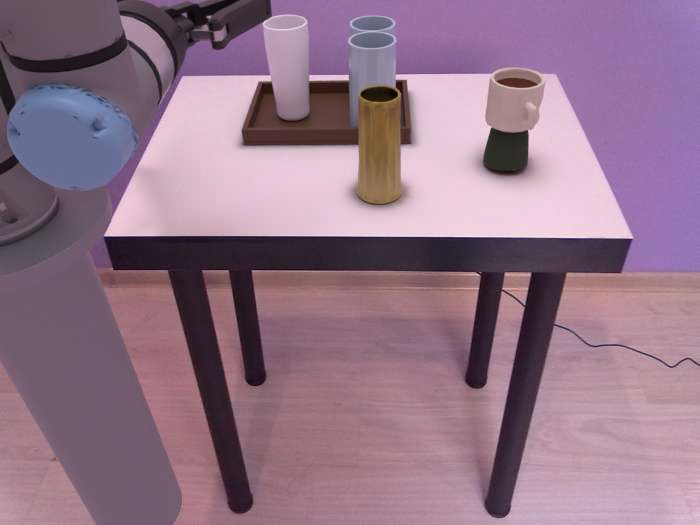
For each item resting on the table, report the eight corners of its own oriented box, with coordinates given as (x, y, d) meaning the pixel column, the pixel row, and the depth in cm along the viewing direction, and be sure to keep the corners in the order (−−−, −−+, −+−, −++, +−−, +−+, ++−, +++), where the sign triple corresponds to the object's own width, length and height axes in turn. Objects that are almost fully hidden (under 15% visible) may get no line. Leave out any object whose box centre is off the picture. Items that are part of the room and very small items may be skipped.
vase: (384, 210, 81) (385, 109, 72) (347, 195, 84) (344, 96, 75) (410, 189, 85) (414, 90, 76) (373, 175, 88) (373, 78, 79)
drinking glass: (306, 102, 105) (299, 11, 95) (320, 119, 100) (314, 25, 90) (267, 110, 103) (256, 18, 93) (280, 128, 98) (269, 32, 89)
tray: (243, 145, 96) (241, 129, 94) (260, 95, 109) (258, 81, 107) (410, 143, 94) (411, 128, 93) (406, 93, 108) (406, 79, 106)
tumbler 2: (349, 138, 96) (347, 49, 87) (351, 117, 102) (348, 31, 93) (395, 138, 96) (396, 48, 87) (394, 117, 101) (395, 30, 92)
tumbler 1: (351, 117, 102) (348, 31, 93) (352, 98, 107) (350, 15, 98) (394, 117, 101) (395, 30, 92) (393, 98, 107) (394, 15, 98)
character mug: (545, 180, 86) (564, 91, 77) (498, 188, 84) (511, 98, 76) (510, 142, 94) (523, 58, 85) (466, 150, 92) (475, 65, 84)
